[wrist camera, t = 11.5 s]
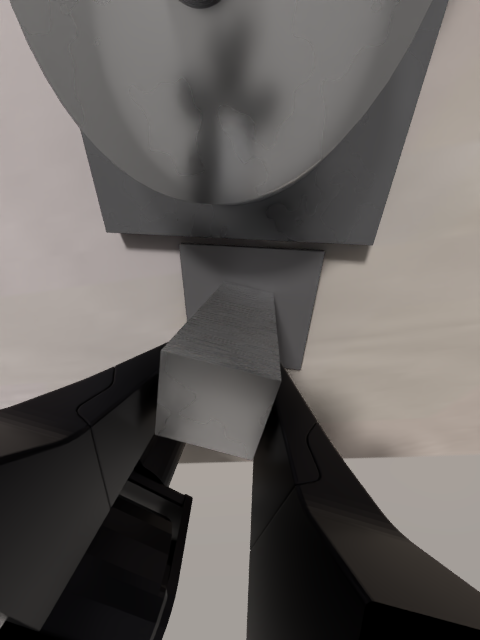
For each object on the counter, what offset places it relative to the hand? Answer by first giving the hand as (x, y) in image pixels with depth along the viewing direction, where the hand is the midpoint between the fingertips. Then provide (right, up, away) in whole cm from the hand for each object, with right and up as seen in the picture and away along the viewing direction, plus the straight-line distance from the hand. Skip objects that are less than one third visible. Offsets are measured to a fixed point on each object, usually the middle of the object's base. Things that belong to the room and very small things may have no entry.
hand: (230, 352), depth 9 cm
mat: (+1, +2, +5) cm, 5 cm away
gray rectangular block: (+1, +2, +4) cm, 5 cm away
